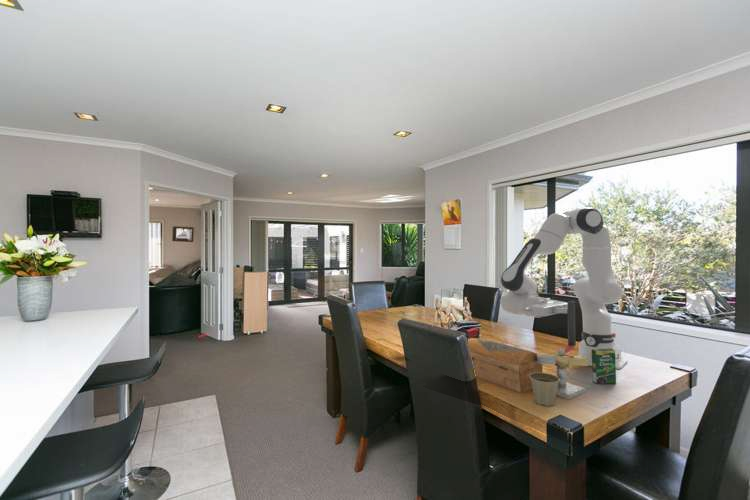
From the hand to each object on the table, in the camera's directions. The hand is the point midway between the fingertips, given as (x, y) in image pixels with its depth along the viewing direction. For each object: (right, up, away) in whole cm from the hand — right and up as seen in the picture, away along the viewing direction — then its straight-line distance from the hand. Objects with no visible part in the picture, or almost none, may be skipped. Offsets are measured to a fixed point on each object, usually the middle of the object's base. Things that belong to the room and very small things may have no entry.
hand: (568, 311), depth 139 cm
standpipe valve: (-8, -28, -9) cm, 30 cm away
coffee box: (+13, -28, -2) cm, 31 cm away
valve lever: (-4, -14, -5) cm, 16 cm away
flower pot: (-19, -28, -19) cm, 39 cm away
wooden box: (-26, -29, +5) cm, 39 cm away
